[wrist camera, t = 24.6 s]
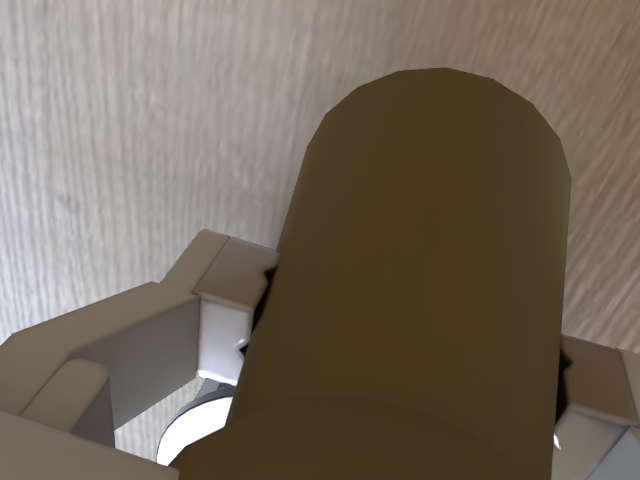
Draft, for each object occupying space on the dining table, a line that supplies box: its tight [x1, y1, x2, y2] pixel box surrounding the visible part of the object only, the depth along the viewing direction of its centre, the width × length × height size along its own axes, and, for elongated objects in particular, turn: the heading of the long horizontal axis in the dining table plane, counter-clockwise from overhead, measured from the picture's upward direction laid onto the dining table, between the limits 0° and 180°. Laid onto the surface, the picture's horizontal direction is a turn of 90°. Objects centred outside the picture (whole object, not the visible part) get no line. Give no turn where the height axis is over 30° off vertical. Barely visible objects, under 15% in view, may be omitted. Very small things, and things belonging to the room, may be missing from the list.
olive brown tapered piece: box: [167, 68, 571, 480], centre depth 9 cm, size 6×6×11 cm
